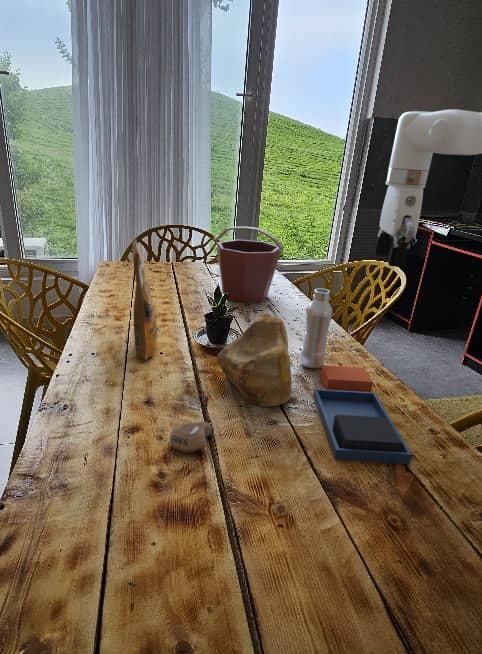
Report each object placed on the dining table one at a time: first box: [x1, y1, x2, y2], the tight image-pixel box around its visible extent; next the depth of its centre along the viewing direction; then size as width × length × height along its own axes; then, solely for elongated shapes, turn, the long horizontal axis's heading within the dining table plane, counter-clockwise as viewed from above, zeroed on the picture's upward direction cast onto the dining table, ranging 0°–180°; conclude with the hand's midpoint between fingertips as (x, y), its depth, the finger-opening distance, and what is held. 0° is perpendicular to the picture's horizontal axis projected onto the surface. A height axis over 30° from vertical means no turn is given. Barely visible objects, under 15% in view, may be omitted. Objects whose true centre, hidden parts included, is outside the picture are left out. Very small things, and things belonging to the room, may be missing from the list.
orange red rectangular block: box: [320, 364, 374, 392], centre depth 104 cm, size 10×7×4 cm
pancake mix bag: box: [131, 239, 158, 361], centre depth 114 cm, size 7×19×28 cm, turn 2°
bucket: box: [213, 226, 284, 304], centre depth 160 cm, size 24×22×25 cm
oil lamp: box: [169, 420, 215, 453], centre depth 82 cm, size 9×4×8 cm
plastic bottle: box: [299, 288, 333, 369], centre depth 110 cm, size 6×7×20 cm
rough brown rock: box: [216, 312, 292, 407], centre depth 100 cm, size 23×17×15 cm
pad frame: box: [312, 388, 413, 465], centre depth 88 cm, size 13×21×2 cm, turn 177°
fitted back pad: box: [333, 414, 402, 452], centre depth 83 cm, size 10×8×4 cm
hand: (388, 260), depth 97 cm, fingers open, 9 cm apart
